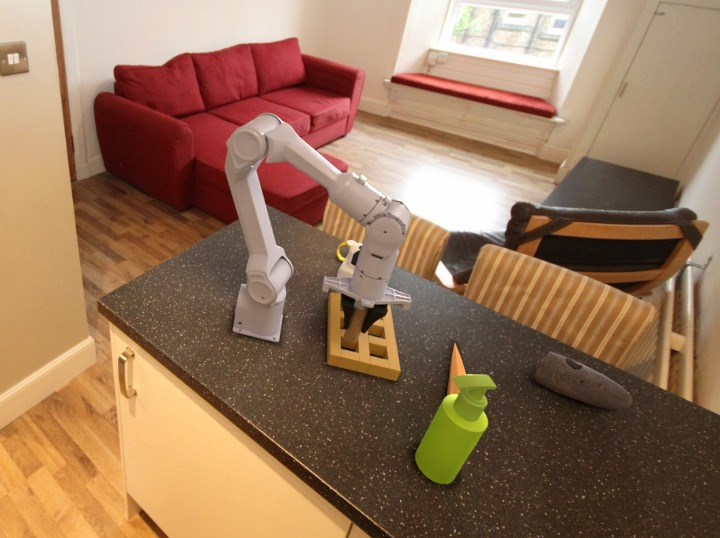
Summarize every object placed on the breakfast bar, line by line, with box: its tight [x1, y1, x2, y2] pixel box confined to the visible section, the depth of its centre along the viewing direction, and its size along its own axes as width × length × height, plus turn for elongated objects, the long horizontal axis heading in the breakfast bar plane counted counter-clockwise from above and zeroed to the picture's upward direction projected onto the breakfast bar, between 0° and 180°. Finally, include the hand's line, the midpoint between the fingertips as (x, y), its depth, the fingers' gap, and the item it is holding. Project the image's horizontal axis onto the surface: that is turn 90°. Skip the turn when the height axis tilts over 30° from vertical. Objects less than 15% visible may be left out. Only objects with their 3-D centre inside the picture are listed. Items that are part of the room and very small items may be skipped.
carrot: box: [446, 342, 467, 396], centre depth 84 cm, size 20×4×4 cm, turn 155°
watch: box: [335, 239, 358, 262], centre depth 113 cm, size 6×3×6 cm, turn 59°
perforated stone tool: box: [534, 351, 634, 411], centre depth 82 cm, size 15×5×7 cm, turn 59°
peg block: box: [326, 291, 401, 382], centre depth 91 cm, size 13×18×3 cm
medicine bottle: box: [332, 242, 363, 294], centre depth 102 cm, size 7×7×12 cm
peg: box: [344, 301, 369, 343], centre depth 81 cm, size 3×3×8 cm
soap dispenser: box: [414, 373, 498, 485], centre depth 65 cm, size 6×7×20 cm
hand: (354, 327), depth 81 cm, fingers closed on peg, 2 cm apart
